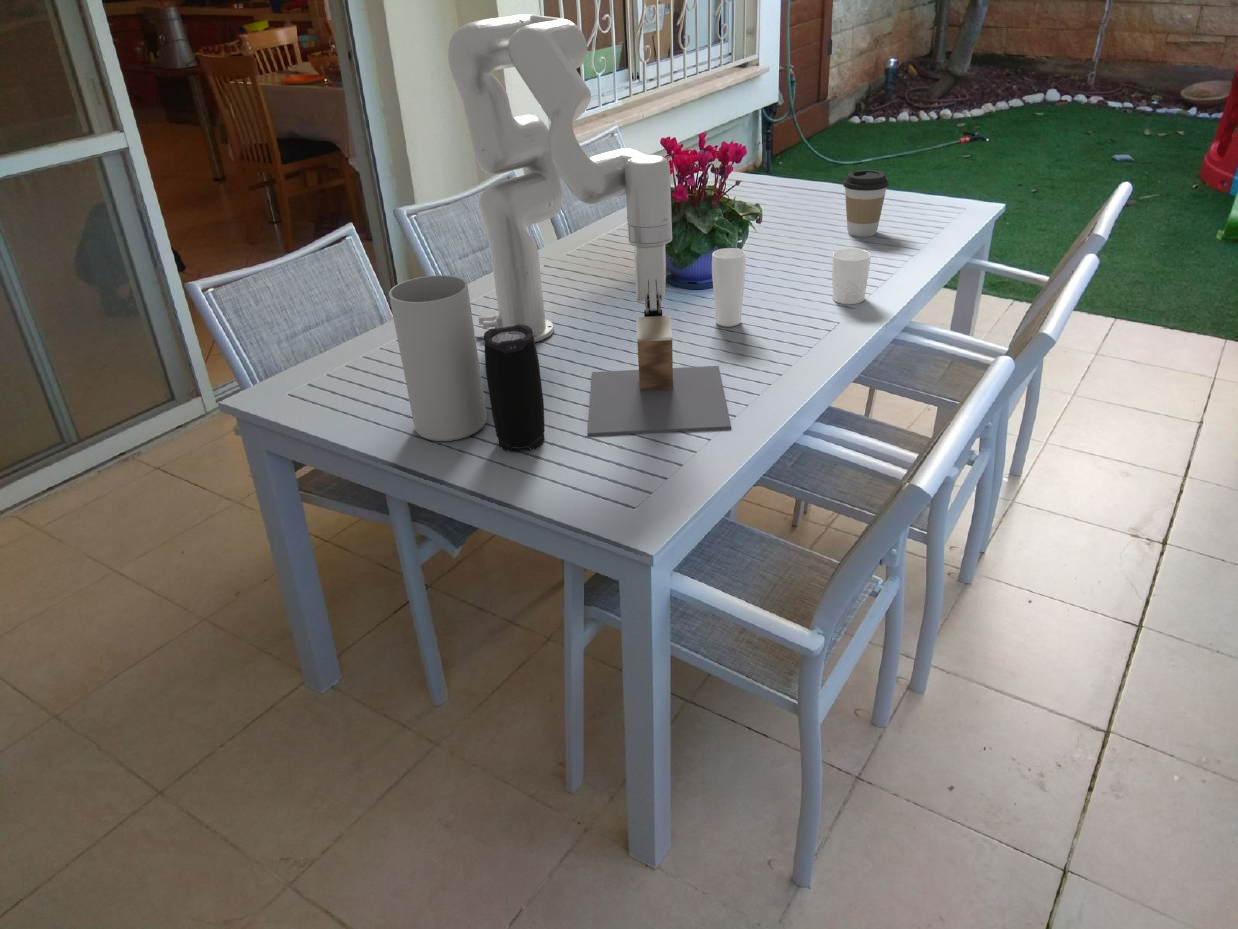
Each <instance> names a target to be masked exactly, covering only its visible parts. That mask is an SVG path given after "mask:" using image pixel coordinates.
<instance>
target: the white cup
mask: <svg viewBox="0 0 1238 929" xmlns="http://www.w3.org/2000/svg"><path fill="white" fill-rule="evenodd" d="M871 256H872V254H871V252H869V251H867V250H864V249H861V248H860V249H859V248H842V249H838V250H836V251H833V253H832V268H831V270H832V273H831V275H832V277H831V278H832V284H831V285H832V299H833V301H834V302H836V303H838V304H842V305H856V304H860V303H862V302H864V301H865V297H866V289H867V285H868V279H869V272H870V265H871Z"/></svg>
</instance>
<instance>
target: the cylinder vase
mask: <svg viewBox="0 0 1238 929" xmlns="http://www.w3.org/2000/svg"><path fill="white" fill-rule="evenodd" d="M388 295H389V296H388V297H389V301H390V307H391V312H392V316H393V323H394V328H395V333H396V338H397V344H398V348H399V354H400V358H401V359H400V360H401V364H402V369H403V374H404V375H403V376H404V380H405V385H406V389H407V394H408V401H409V406H410V411H411V416H412V417H411V418H412V421H413V426H414V430H415V432H416V433H417V434H418V435H419V436H420V437H422V438H424V439H427V440H430V441H434V442H450V441H451V442H452V441H458V440H461V439H465V438H469V437H470V436H472V435H474V434H476V433H478V432H480V430H482V429H483V428H484V426H485V425H486V422H487V420H488V419H487V418H488V415H487V409H486V408H487V407H486V401H485V395H484V388H483V382H482V381H483V380H482V375H481V368H480V361H479V354H478V347H477V340H476V333H475V326H474V320H473V313H472V306H471V299H470V293H469V286H468V282H467V280H465V279H464V278H461V277H458V276H455V275H443V274H442V275H441V274H440V275H437V274H436V275H427V276H420V277H415V278H412V279H408V280H405V281H402V282H399V283H398V284H396V285H394V286H393V287H392V288H391V289H390V290H389V292H388Z"/></svg>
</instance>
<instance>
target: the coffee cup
mask: <svg viewBox="0 0 1238 929" xmlns="http://www.w3.org/2000/svg"><path fill="white" fill-rule="evenodd" d="M889 182H890V181H889V179H888V178H887V176H886V173H885V172H883V171H880V170H875V169H860V170H859V169H857V170H853V171H851V172H848V174H847V176H846V178H845V179H844V180H843V184H842V186H843V187H844V194H845V196H844V197H845V210H846V212H845V214H846V215H845V216H846V226H847V227H846V230H847V233H848V235H850V236H852V237H855V238H856V237H857V238H869V237H873V236H875V235H876V234H877V231H878V230H879V224H880V220H881V219H880V218H881V215H882V211H883V207H884V206H883V205H884V200H885V197H886V191H887V188H888V187H889V185H890V183H889Z"/></svg>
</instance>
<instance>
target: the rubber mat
mask: <svg viewBox="0 0 1238 929" xmlns="http://www.w3.org/2000/svg"><path fill="white" fill-rule="evenodd" d="M590 381H591V382H590V394H589V408H588V420H587V421H588V423H587V437H588V436H604V435H605V436H606V435H607V436H610V435H630V434H632V435H633V434H649V433H650V434H651V433H665V432H666V433H668V432H669V433H671V432H672V433H673V432H689V431H690V432H691V431H694V432H695V431H711V430H712V431H713V430H714V431H716V430H717V431H718V430H731V429H732V423H731V419H730V414H729V409H728V405H727V404H728V403H727V399H726V395H725V390H724V385H723V380H722V375H721V370H720V366H719V365H708V366H707V365H706V366H689V367H688V366H687V367H684V366H683V367H673V389H665V390H645V391H640V383H639V369H626V370H625V369H623V370H608V371H605V370H604V371H592V372H591V380H590Z"/></svg>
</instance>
